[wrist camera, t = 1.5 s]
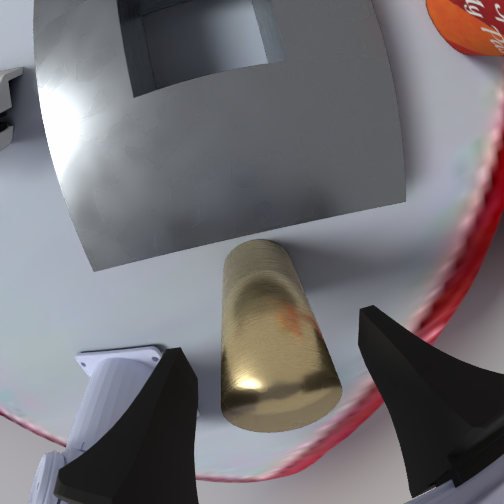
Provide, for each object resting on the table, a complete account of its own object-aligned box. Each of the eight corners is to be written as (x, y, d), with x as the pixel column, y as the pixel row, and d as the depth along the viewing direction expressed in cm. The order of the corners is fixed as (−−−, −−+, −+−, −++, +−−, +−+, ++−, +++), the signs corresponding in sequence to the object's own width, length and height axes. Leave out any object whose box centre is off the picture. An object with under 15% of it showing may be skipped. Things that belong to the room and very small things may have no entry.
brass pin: (296, 291, 17) (340, 417, 9) (232, 305, 17) (238, 438, 9) (286, 232, 15) (343, 353, 7) (215, 248, 15) (203, 382, 7)
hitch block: (366, 181, 14) (405, 201, 11) (122, 237, 15) (94, 272, 11) (295, -77, 6) (310, -111, 3) (70, -22, 7) (39, -43, 3)
